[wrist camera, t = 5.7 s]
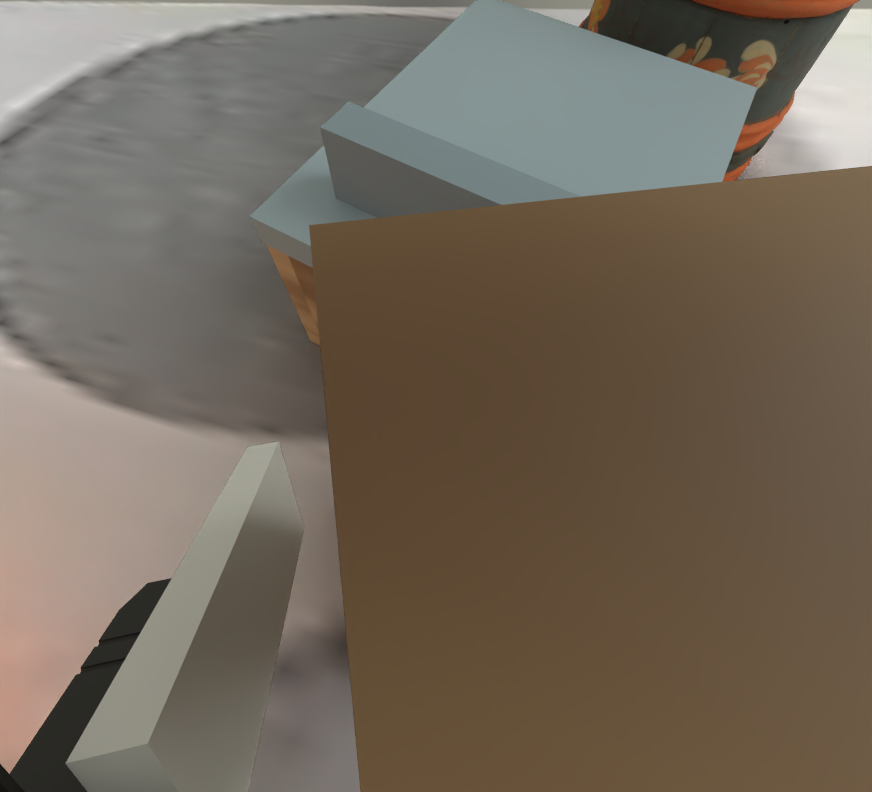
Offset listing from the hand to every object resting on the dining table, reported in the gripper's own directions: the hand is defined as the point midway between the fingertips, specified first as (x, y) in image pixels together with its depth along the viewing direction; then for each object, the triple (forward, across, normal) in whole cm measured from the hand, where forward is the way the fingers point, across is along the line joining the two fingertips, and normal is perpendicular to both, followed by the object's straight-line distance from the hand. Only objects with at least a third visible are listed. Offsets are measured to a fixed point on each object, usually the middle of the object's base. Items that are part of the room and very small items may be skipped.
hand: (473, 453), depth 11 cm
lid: (+9, +5, +8) cm, 13 cm away
